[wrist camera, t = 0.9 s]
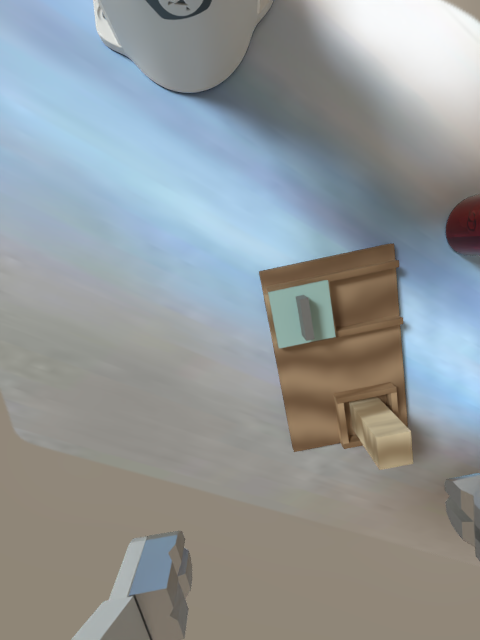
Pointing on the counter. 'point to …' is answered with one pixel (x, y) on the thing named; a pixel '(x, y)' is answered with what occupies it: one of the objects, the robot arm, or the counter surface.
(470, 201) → the soda can
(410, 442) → the maple block
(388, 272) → the puzzle board
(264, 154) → the counter surface
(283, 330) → the cover
